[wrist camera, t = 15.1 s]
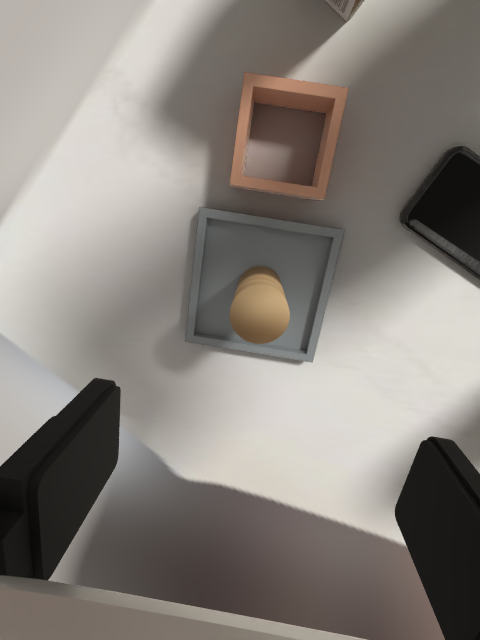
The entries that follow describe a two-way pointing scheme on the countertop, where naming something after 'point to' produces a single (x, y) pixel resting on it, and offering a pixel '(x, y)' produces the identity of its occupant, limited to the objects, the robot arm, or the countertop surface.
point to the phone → (449, 208)
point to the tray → (260, 250)
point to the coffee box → (345, 7)
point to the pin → (259, 306)
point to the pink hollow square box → (297, 98)
